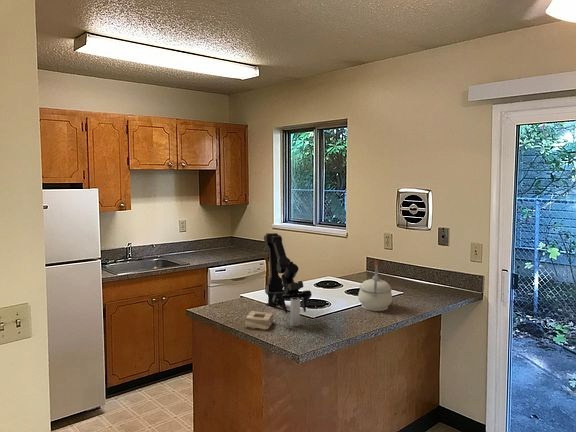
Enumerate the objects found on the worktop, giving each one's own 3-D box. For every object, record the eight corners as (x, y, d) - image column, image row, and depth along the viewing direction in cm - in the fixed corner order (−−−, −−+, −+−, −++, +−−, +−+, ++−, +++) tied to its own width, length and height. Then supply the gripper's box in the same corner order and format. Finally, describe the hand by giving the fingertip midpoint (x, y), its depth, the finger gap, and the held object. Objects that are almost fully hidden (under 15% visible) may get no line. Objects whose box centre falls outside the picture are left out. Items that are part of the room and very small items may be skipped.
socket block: (251, 320, 231) (251, 311, 230) (272, 322, 229) (273, 313, 228) (245, 327, 220) (245, 318, 220) (267, 329, 218) (268, 320, 218)
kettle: (392, 314, 245) (394, 267, 242) (356, 311, 249) (358, 265, 246) (391, 301, 269) (393, 258, 267) (359, 298, 273) (360, 256, 270)
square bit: (289, 323, 227) (290, 297, 226) (296, 323, 228) (297, 297, 227) (292, 326, 224) (293, 299, 222) (299, 325, 225) (300, 299, 223)
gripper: (274, 276, 224) (281, 305, 215) (310, 274, 230) (319, 302, 221) (269, 288, 232) (275, 316, 223) (304, 285, 238) (312, 313, 229)
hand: (296, 312), depth 224 cm, fingers open, 9 cm apart
